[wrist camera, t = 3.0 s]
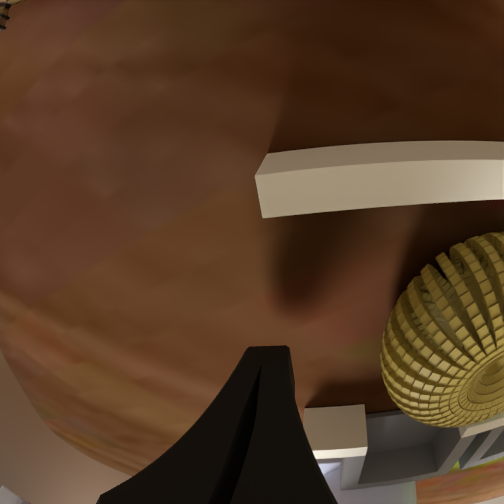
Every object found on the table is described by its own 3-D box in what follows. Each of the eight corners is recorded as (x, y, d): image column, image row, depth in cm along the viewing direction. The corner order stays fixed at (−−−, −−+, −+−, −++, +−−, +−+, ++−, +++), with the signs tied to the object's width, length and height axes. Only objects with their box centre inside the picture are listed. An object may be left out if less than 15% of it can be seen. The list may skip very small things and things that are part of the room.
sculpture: (584, 215, 4) (585, 366, 6) (509, 168, 8) (548, 308, 10) (338, 387, 8) (431, 462, 10) (332, 297, 11) (418, 394, 13)
